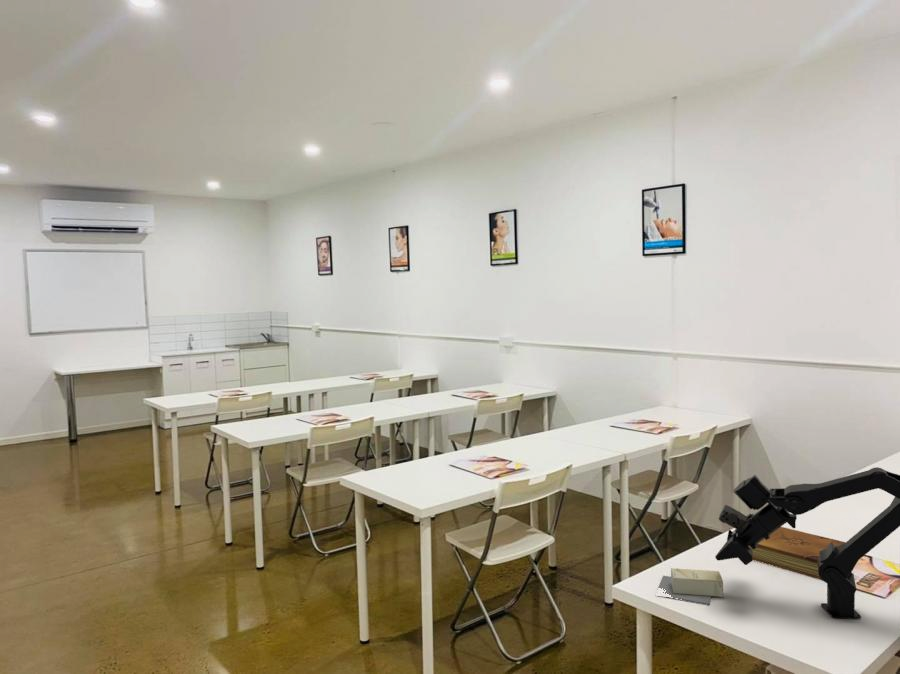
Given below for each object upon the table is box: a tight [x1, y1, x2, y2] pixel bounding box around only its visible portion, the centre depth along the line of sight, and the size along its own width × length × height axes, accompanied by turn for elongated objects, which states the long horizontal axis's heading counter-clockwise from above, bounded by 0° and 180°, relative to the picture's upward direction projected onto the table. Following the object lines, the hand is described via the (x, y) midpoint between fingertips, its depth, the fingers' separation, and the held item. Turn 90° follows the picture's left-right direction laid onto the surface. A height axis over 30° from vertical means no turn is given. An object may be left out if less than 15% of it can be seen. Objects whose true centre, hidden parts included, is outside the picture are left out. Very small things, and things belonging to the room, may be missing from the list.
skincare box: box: [670, 568, 724, 598], centre depth 171 cm, size 6×4×12 cm
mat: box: [657, 575, 712, 606], centre depth 172 cm, size 13×12×1 cm
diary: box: [749, 526, 847, 581], centre depth 189 cm, size 23×19×6 cm
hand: (716, 558), depth 170 cm, fingers closed
